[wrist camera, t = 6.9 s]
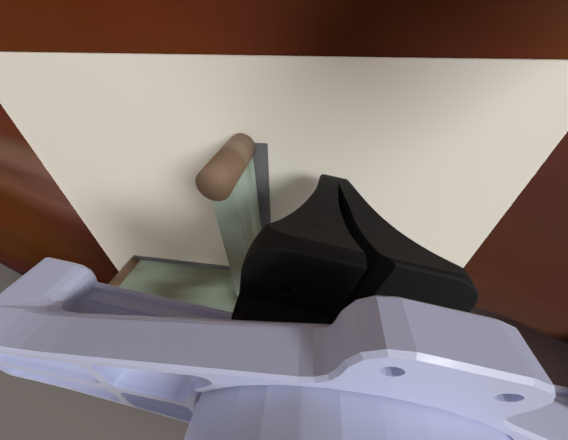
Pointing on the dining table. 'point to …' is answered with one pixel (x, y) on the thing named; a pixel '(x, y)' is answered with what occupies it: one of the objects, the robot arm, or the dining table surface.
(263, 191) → the board
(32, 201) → the dining table surface
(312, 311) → the robot arm
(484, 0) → the dining table surface
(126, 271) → the fixed fence section
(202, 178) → the hinged fence section
